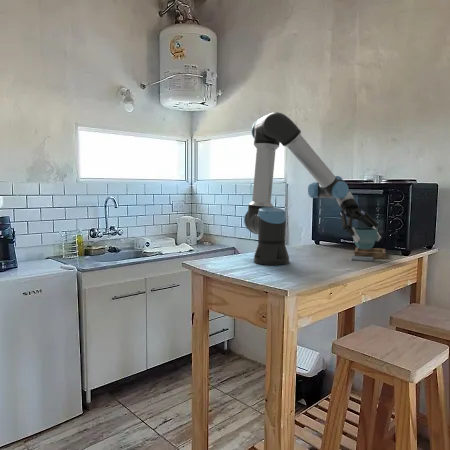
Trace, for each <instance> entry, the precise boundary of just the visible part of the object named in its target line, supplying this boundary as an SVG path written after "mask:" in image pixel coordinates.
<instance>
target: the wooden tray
mask: <svg viewBox="0 0 450 450" xmlns="http://www.w3.org/2000/svg"><path fill="white" fill-rule="evenodd" d="M386 255H387V253H386V248H378V247H377V248H373V247H372V248H371V249H359V248H357V247H356V246H355V249H354V256H367V257H373V259H383V260H384V259H385V260H386Z"/></svg>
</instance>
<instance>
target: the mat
mask: <svg viewBox="0 0 450 450" xmlns="http://www.w3.org/2000/svg"><path fill="white" fill-rule="evenodd" d="M351 261H353V262H355V261H356V262H371V263H372V262H374V258H373V257H367V256H355V255H352V257H351Z"/></svg>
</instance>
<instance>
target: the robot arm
mask: <svg viewBox="0 0 450 450" xmlns="http://www.w3.org/2000/svg"><path fill="white" fill-rule="evenodd" d="M251 136H252V138H253V146H254V148H256V155H255V164H254V165H255V166H254V176H253V188H252V189H253V190H252V200H251V202H249V203H248V208H247V211H246V212H245V214H244V217H243V224H244V226H245V227H246V230H248V231H249V232H250V233H252V234H254V235H257V237H258V238H257V240H258V241H257V247H256V250H255V252H254V256H253V262H254V264H255V263H256V264H257V263H258V265H263V264H264V266H282V265H287V264H289V263H290V256H289V253H288V250H287V246H286V231H287V230H286V229H287V228H286V224H287V223H286V220H287V216H286V211H285V210H284V209H283V208H279V207H274V205H273V203H272V192H273V180H274V171H275V162H276V161H275V160H276V150H277V149H279V147H280V144H281V145H282V146H283V147H287V148H288V149H289V151H290V152H291V153H292V154H293V156H295V158H296V159H297V160H298V162H300V163H301V165H302V166H303V167H304V169H306V170H307V171H308V173H309V174H310V175H311V176H312V177H313V179H314V180H315V181H314V182H310V183H309V185H308V187H307V192H308V193H307V194H308V196H309V197H310V198H312V199H318V198H319V199H322V198H323V199H335V201H336V202H337V204H338V206H339V207H340V209H341V210H340V213H338V215H339V218H340V220H341V226H342V230H344V231H345V232H347V233H348V234H350V236H351V237H352V239H353V238H354V240H355V242H356V243H357V242H358V241H359V240H360V238H359V236H358V234H357V232H356V230H355V229H354V228H355V227H353V221H354V220H356V221H357V220H358V221H359V222H361V223H363V225H365V226H367V228H373V229H376V230H377V236H376V241H375V242H379V241H380V239H381V238H382V236H381V235H380V233H379V230H378V228H377V227H378V226H379V223H378V222H376V220H375V219H374V218H373V217H372V216H371V215H370V214H369V212H368V211H367V210H366V209H363V210H361V209H359V204H358V202H357V201H356V199H355V198H354V195H353V194H352V193H351V191H350V189H349V185H348V184H347V183H346V182H345V180H344V179H343V178H342V176H339V175H335V174H334V173H333V172H332V171H331V169H330V168H329V167H328V165H327V164H326V163H325V162H324V161H323V160H322V158H320V156H319V155H318V154H317V153H316V151H315V150H314V149H313V148H312V146H311V145H310V144H309V143H308V142H307V140H305V137H304V136H303V135H302V131H301V129H300V128H299V126H297V124H296V123H295V122H294V121H293V120H292V119H290V117H289V116H287V115H285V114H284V113H282V112H277V111H275V112H270V113H268V114H266V115H263V116H260V117H258V119H256V121H254V123H253V124H252V127H251ZM354 240H353V241H354Z"/></svg>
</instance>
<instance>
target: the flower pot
mask: <svg viewBox="0 0 450 450" xmlns="http://www.w3.org/2000/svg"><path fill="white" fill-rule="evenodd" d="M354 229H355V230H356V232H357V234H358V236H359V238H360V240H359V241H358V242H357V243H356V242H355V240H354V238H353V237H352V240H353V243H354V245H355V248H356V247H357V248H359V249H371V248H373V247H374V246H375V244H376V242H377V241H376V236H377V230H378V229H377V230H376V229H373V228H369V227H354Z"/></svg>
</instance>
